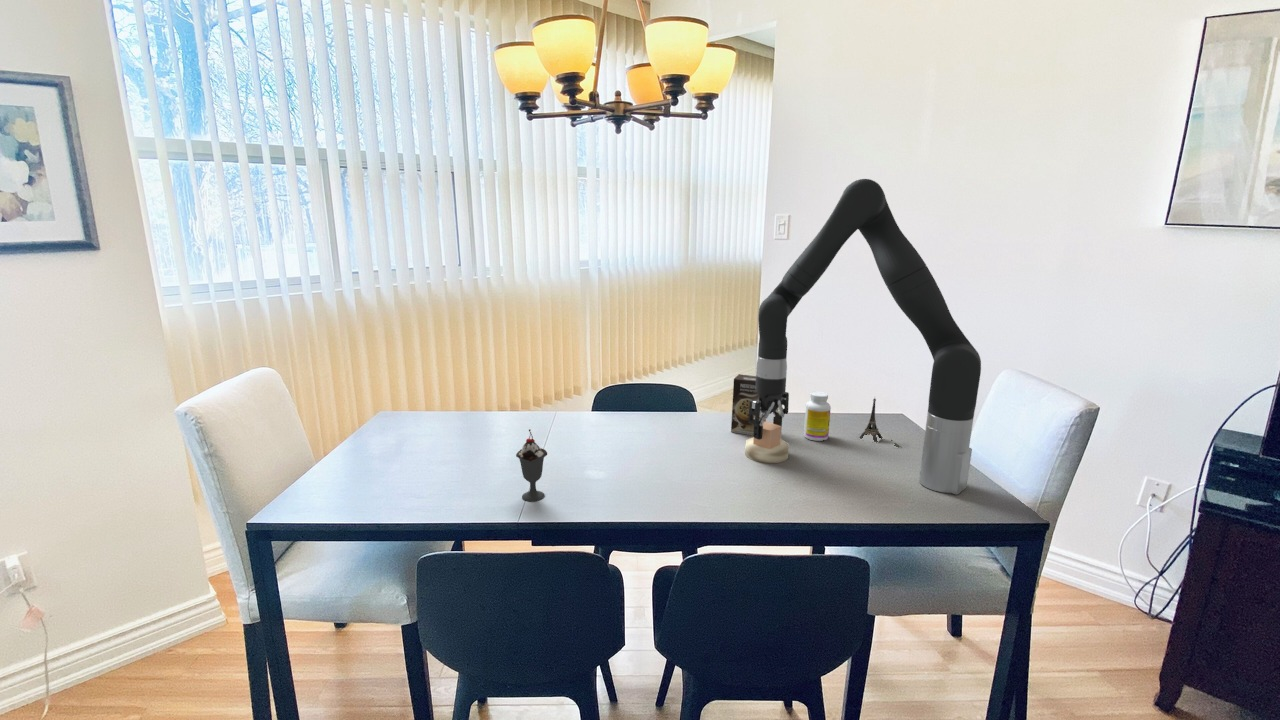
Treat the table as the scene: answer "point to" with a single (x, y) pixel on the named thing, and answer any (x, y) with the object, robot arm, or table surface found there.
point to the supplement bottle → (817, 417)
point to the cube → (769, 436)
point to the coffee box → (743, 403)
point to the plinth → (766, 452)
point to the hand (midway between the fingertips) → (767, 434)
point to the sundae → (532, 467)
